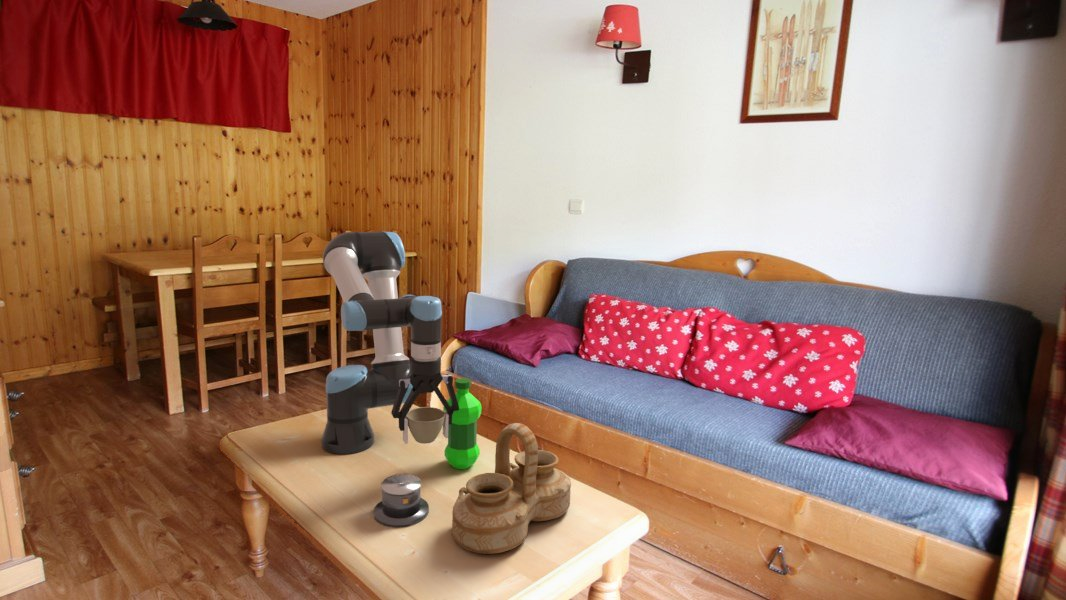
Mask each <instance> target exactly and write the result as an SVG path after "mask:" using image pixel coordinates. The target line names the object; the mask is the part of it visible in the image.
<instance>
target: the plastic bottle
mask: <svg viewBox="0 0 1066 600" xmlns="http://www.w3.org/2000/svg"><path fill="white" fill-rule="evenodd" d="M471 383H472V382H471V379H469V378H465V377H464V378H463V377H461V378H456V379H455V380H454V388H456V392H455V395H456V398H457V402H458V405H459V410H458V411H454V412H453V414H452V424H450V425H448V438H447V445H446V447H445V449H444V457H445V460H446V461H447V462H448V463H449V464H450V465H451V466H452V467H453V468H454V469H457V470H467V469H469V468H470V467H471V466H473V465H474V464H475V463H476V462H477V460H478V459H479V457H480V453H481V452H480V450H481V449H480V447H479V445H478V444H477V437H478V436H477V431H478V430H477V424H478V423H477V422H478V419H479V418H480V417H481V415H482V404H481V401H479V400H478V399H477V398H476V397H475V396H474V395H473V394H472V393H471V392H469V391H470V390H469V389H470V388H471V386H472V384H471ZM446 401H447V403H448V404H449V406H451V405H452V403H451V400H450V397H449V398H448V399H446ZM442 411H446V409H445V407H444V406H443V410H442Z"/></svg>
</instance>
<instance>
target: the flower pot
mask: <svg viewBox="0 0 1066 600" xmlns="http://www.w3.org/2000/svg"><path fill="white" fill-rule="evenodd" d="M406 417H407V419H408V429H409V430H408V431H409V432H410V434H411V436H412V437H413V439H414V441H416V442H417V443H419V444H431V443H434V441H436V439H437V438H438V436H439V435H440V433H441V430H442V429H443V423H444V419H445V412H444V411H443V410H442V409H440V408H438V407H432V406H424V407H423V406H422V407H421V406H420V407H415V408H413V409H412V408H411V409H410V410H409V412H408V413H407V415H406Z"/></svg>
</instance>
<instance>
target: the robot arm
mask: <svg viewBox="0 0 1066 600" xmlns="http://www.w3.org/2000/svg"><path fill="white" fill-rule="evenodd" d="M322 262H323V267H324V268H325V270H326V272H327V273H328V274H330V275H331V276H332V278H333V280H334V283H335V284H336V287H337V289H338V291H339V294H340V296H341V298H342V300H343V303H342V305H341V308H340V316H341V318H340V319H341V323H342V328H343V329H344V330H345V331H348V332H353V331H354V332H355V331H357V332H362V331H370V330H372V335H373V336H372V337H373V343H374V344H373V345H374V353H375V355H374V356H375V357H374V359H373V360H372V361H371V363H370V367H371V368H370V369H368V368H367V367H366V366H365V365H362V364H348V365H344V366H339V367H337V368H335V369H333V370H331V371H330V372H329V373H328V374H327V376H326V379H325V394H326V395H325V397H326V423H325V427H324V430H323V434H322V437H321V448H322V449H323V450H324V451H326V452H328V453H331V454H335V455H336V454H338V455H346V454H348V455H349V454H355V453H356V454H357V453H359V452H363V451H366V450H367V449H369V448H371V447H372V446H373V445H374V443H375V433H374V430H373V427H372V425H371V423H370V420H369V416H368V415H369V414H368V411H369V409H374V408H382V407H383V408H384V407H389V406H392V409H391V412H390V413H391V416H392V418H393V419H398V429H399V431H400V432H402V441H403V442H404V443H403V444H408V443H409V430H408V429H409V427H408V419H407V417H406V415H407V413H408V412H409V411H410V410H411V409H412V406H413V405H414V403H415V401H416V399H417V398H418V397H419V395H420V394H421V395H422V394H423V395H424V394H426V393H428V394H432V393H435V394H436V396H437V397H438V399H439V401H440V402H441V404H442V406H443V407H445V409H446V411H444V412H445V419H444V423H443V426H442V435H443V437H444V438H445V439H448V425H450V424H452V414H453V412H454V411H458V410H459V405H458V402H457V398H456V395H455V393H456V392H455V389H454V388H455V387H454V386H453V383H454V377H453V376H452V374H450V373H447V374H444V375H443V374H442V372H441V371H442V359H441V356H442V315H443V310H442V301H441V299H440V298H439V297H438V296H437V297H436V296H432V295H419V296H417V295H414V294H404V295H403V296H400V297H399V293H398V292H399V291H398V285H397V278H398V276H399V275H400V274H401V269H402V268H404V267H405V264H406V251H405V247H404V244H403V241H402V238H401V237H400V236H399V234H398V233H396V232H393V231H384V230H380V231H347V232H341V233H340V234H338V235H336V236H335V237H333V238H332V239H331V240H330V241H328V243H327V244H326V246H325V248H324V249H323V253H322ZM366 280H367V282H368V283H367V282H366ZM406 327H410V334H411V335H410V356H411V359H410V358H409V357H408V356H407V355H405V353H404V343H403V342H404V341H403V335H402V334H403V333H402V328H406ZM442 381H443V383H444V384H445V385H446V388H447V391H448V392H447V393H448V396H449V398H450V400H451V403H452V405H451V406H449V404H448V403H447V399H446V398H445V396H444V394H443V393H442V392H441V389H440V388H439V386H440V384H441V383H442Z"/></svg>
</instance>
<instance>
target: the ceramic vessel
mask: <svg viewBox="0 0 1066 600" xmlns="http://www.w3.org/2000/svg"><path fill="white" fill-rule="evenodd" d="M514 435H515V436H516V437H518V439H520V441H521V443H522V444H523V445H522V446H523V449H524V451H521V452H519V453H516V455H515V456H514V458H513V459H514V463H515V464H514V463H513V462H512V463H511V462H510V457H511V456H510V453H511V452H510V450H511V441H512V437H513V436H514ZM538 446H539V445H538V442H537V437H536V436H535V434H534V432H533V431H532V430H531V429H530V428H529V427H528V426H527V425H525V424H523V423H519V422H513V423H510V424H508V425H506V426H505V427H504V428H503V429H502V430H501V432H500V433H499V435H498V437H497V439H496V444H495V454H494V455H495V459H494V460H495V462H494V464H495V466H494V472H485V473H480V474H477V475H474V476H472V477H471V478H469V480H468V481H466V484H465V486H463V487H460V489H459V490H458V497H457V499H456V500H455V502H454V505H453V506H452V513H451V514H452V520H451V521H452V522H451V533H452V538H453V539H454V542H456V543H457V545H458V546H460V547H461V548H463V549H465V550H467V551H470V552H473V553H476V554H484V555H485V554H486V555H487V554H489V555H490V554H491V555H492V554H500V553H504V552H507V551H510V550H513V549H515V548H517V547H518V546H520V545H521V544H522V543H524V542H525V540H526V538H527V537H528V533H529V524H530V522H544V521H549V520H554V519H556V518H559V517H561V516H562V515H564V514H565V513H566V512H567V511H568V510H569V508H570V504H571V487H572V481H571V478H570V476H569V475H567V473H565V472H563V471H562V470H560V469H558V468H556V467H557V465H558V464H559V461H560V459H559V457H558V456H557V454H555V453H553V452H552V451H548V450H543V449H539V447H538Z"/></svg>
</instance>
